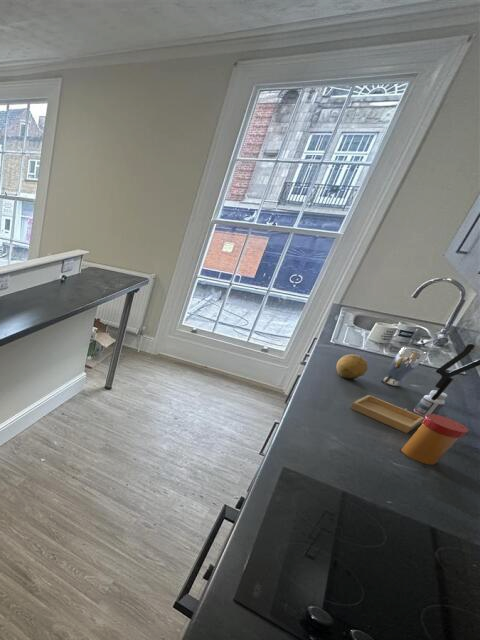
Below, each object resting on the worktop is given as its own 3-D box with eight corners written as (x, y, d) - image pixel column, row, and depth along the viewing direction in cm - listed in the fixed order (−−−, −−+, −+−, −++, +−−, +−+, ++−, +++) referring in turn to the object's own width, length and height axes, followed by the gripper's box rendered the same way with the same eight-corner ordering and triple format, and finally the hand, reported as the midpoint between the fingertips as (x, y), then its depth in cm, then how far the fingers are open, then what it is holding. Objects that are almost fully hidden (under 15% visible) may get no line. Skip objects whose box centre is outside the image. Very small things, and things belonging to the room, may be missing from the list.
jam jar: (439, 460, 118) (468, 428, 112) (431, 467, 114) (460, 435, 108) (406, 445, 123) (432, 414, 117) (397, 451, 120) (423, 420, 114)
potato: (375, 356, 161) (347, 346, 165) (373, 367, 152) (344, 356, 157) (358, 375, 166) (332, 365, 171) (355, 387, 158) (328, 376, 163)
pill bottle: (429, 413, 143) (447, 392, 138) (435, 420, 139) (453, 398, 134) (410, 408, 145) (427, 387, 141) (415, 414, 141) (432, 393, 137)
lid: (466, 433, 113) (472, 427, 112) (458, 441, 109) (463, 435, 108) (427, 417, 119) (431, 411, 118) (417, 424, 115) (422, 418, 114)
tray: (420, 423, 136) (424, 417, 135) (406, 433, 130) (411, 427, 128) (364, 400, 147) (368, 394, 146) (349, 408, 141) (353, 402, 140)
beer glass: (380, 377, 166) (403, 344, 159) (402, 384, 162) (427, 351, 154) (377, 381, 162) (401, 348, 155) (400, 389, 158) (425, 355, 150)
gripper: (600, 351, 92) (522, 427, 104) (466, 316, 108) (411, 386, 120) (596, 355, 89) (516, 434, 100) (458, 319, 105) (402, 390, 116)
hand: (459, 408), depth 110 cm, fingers open, 10 cm apart
